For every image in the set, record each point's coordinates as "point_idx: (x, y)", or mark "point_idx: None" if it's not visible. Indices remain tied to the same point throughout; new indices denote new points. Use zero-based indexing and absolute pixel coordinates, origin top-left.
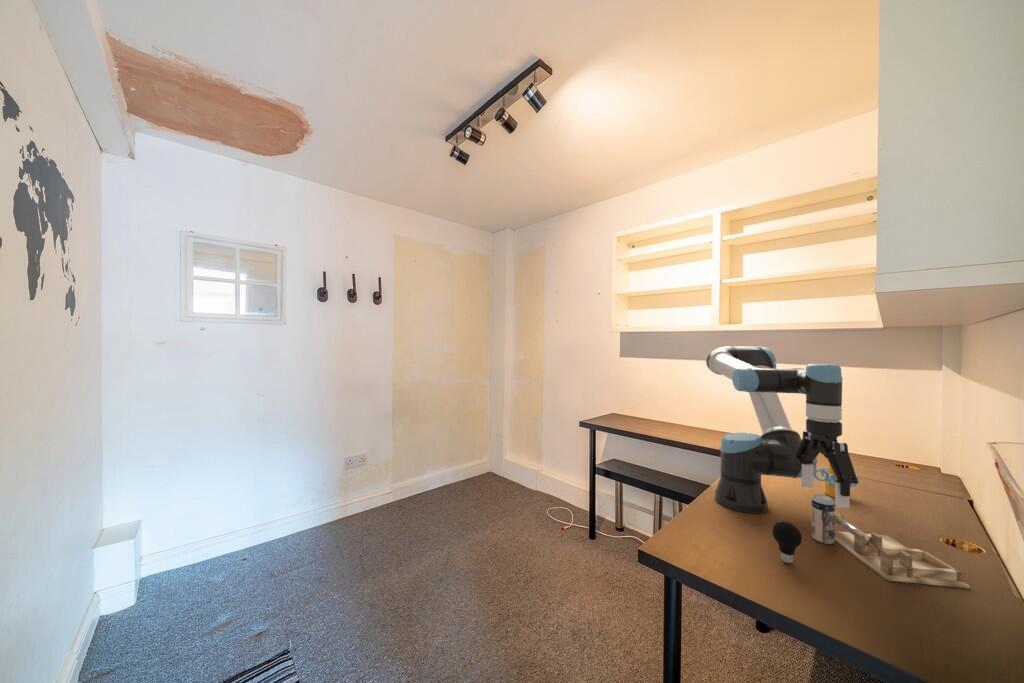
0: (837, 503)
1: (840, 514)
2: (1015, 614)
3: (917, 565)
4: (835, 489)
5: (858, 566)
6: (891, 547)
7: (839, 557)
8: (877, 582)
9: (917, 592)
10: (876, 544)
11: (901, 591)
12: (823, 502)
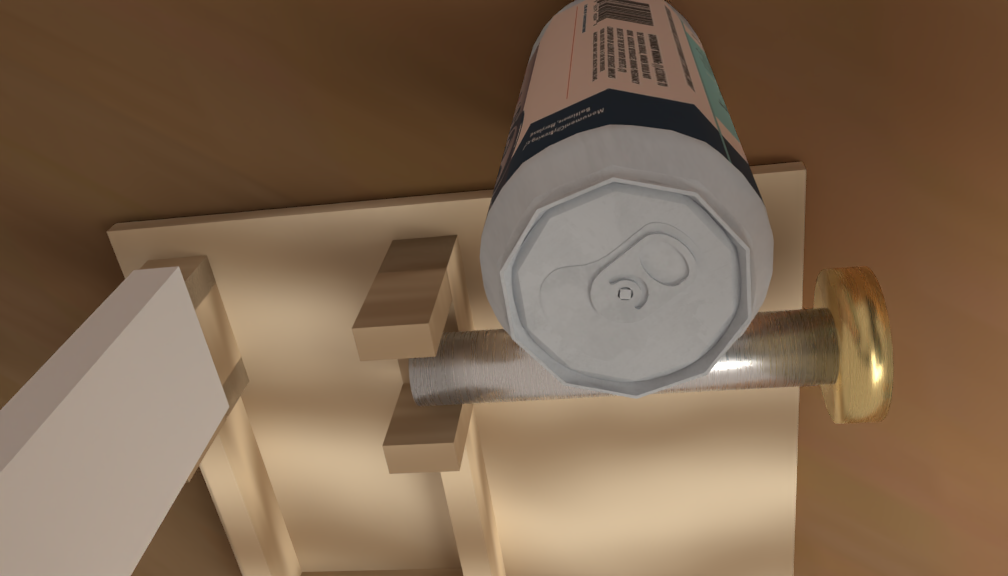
0: (105, 304)
1: (839, 409)
2: None
3: (384, 501)
4: (15, 452)
5: (233, 139)
6: (465, 480)
7: (326, 63)
8: (48, 147)
9: (57, 318)
10: (406, 398)
11: (12, 235)
12: (498, 223)
